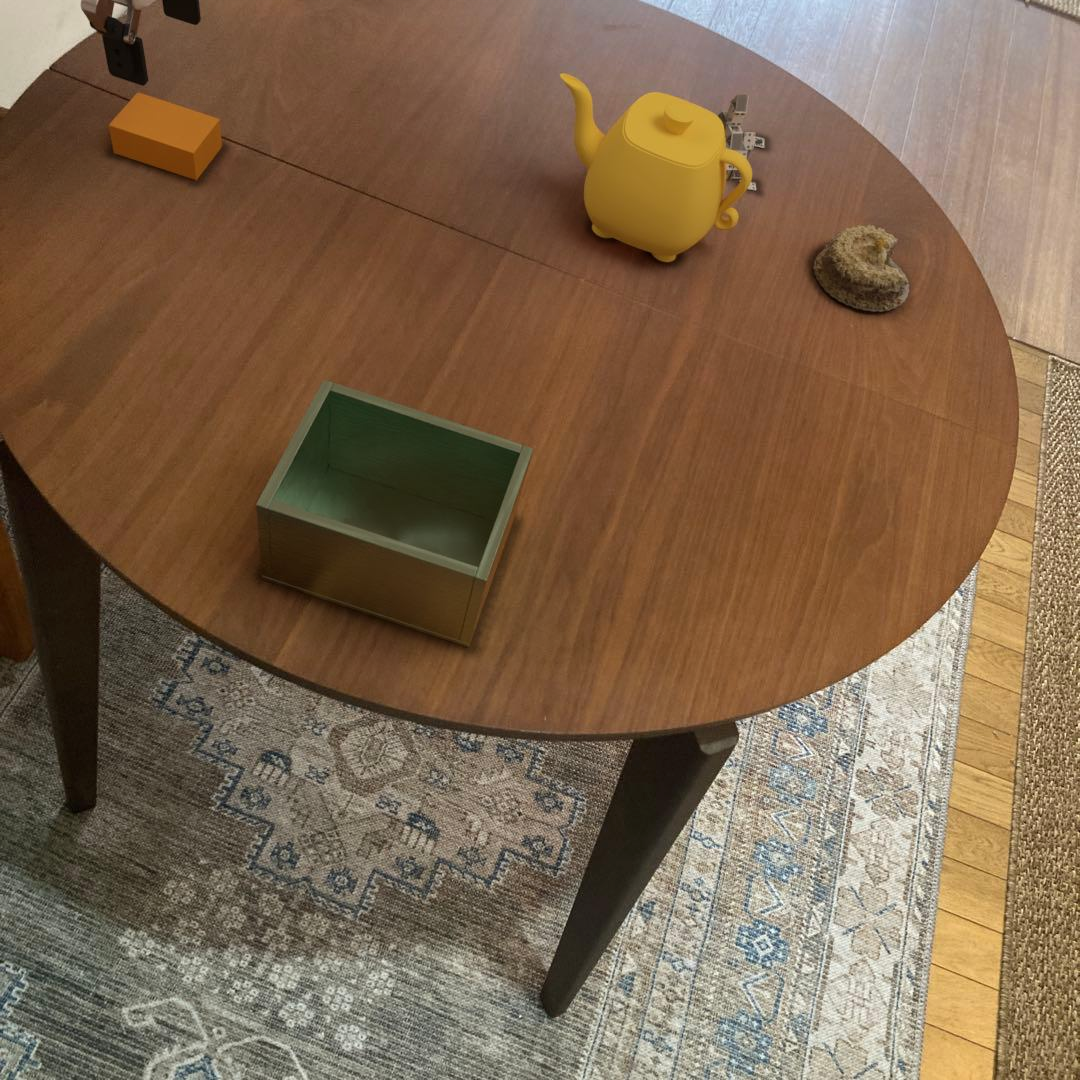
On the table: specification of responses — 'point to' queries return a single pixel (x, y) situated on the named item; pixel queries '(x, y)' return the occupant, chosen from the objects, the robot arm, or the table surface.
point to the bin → (391, 511)
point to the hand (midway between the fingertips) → (156, 48)
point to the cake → (862, 269)
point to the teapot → (656, 172)
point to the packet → (166, 136)
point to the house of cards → (738, 134)
